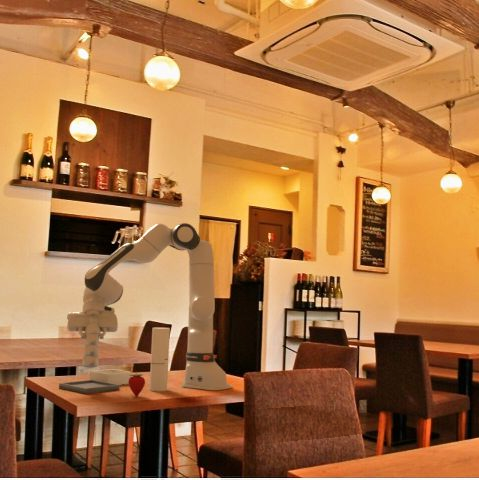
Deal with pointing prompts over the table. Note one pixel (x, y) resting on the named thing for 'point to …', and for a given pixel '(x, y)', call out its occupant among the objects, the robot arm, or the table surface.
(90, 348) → the plastic bottle
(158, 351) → the white toy refrigerator
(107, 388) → the grey tray
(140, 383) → the strawberry
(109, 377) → the collar holder
